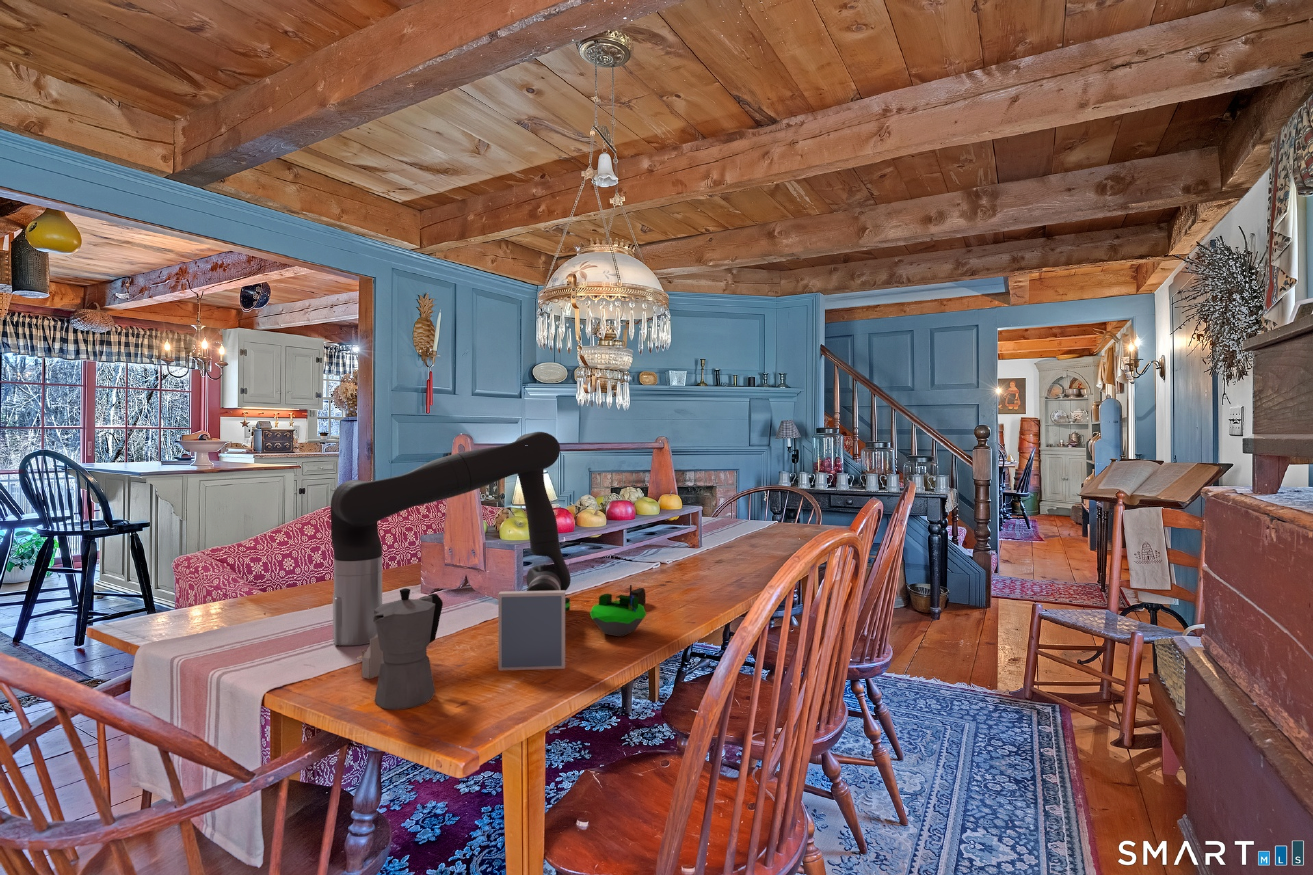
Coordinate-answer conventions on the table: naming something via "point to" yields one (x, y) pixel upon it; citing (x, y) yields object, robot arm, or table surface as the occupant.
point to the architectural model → (371, 659)
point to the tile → (531, 630)
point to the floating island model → (618, 614)
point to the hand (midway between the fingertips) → (536, 616)
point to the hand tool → (639, 595)
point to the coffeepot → (406, 650)
